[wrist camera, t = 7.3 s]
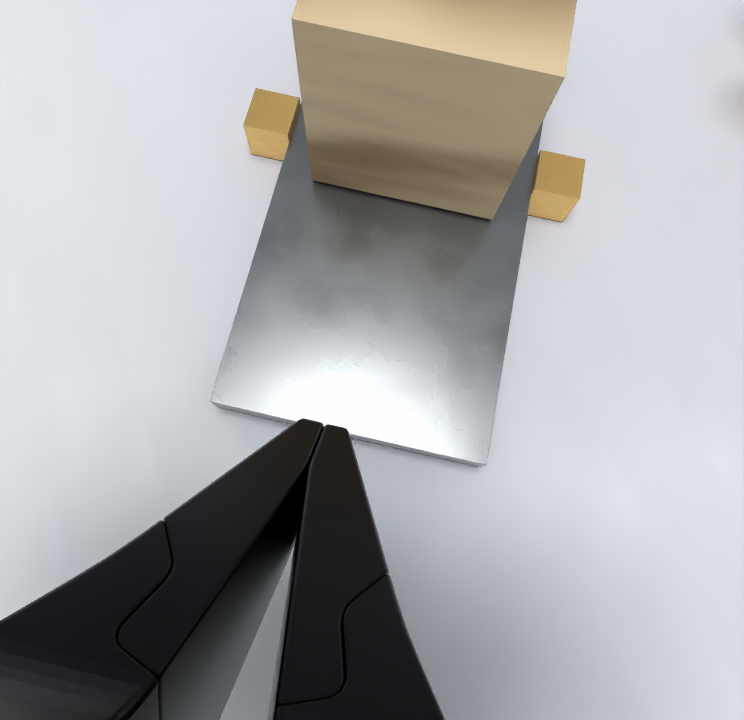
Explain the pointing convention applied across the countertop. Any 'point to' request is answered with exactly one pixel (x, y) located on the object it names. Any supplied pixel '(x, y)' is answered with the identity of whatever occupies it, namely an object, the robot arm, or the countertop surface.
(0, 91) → the countertop surface
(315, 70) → the tan wooden block
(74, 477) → the countertop surface
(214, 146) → the countertop surface
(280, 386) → the metal tray
